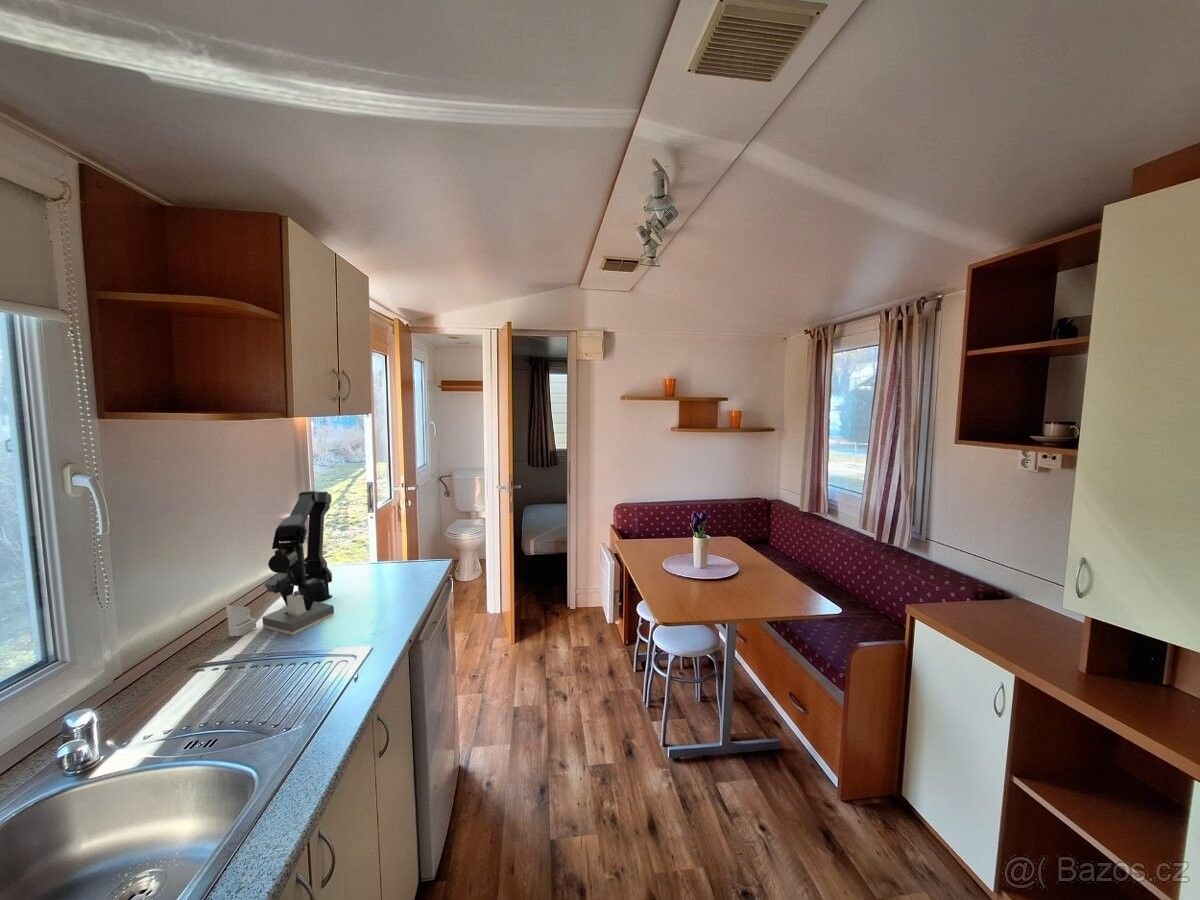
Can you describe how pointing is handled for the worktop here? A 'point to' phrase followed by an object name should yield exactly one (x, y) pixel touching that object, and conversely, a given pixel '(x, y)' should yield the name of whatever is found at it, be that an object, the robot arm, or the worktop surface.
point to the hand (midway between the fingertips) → (298, 608)
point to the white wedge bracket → (239, 620)
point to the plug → (295, 604)
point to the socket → (297, 618)
